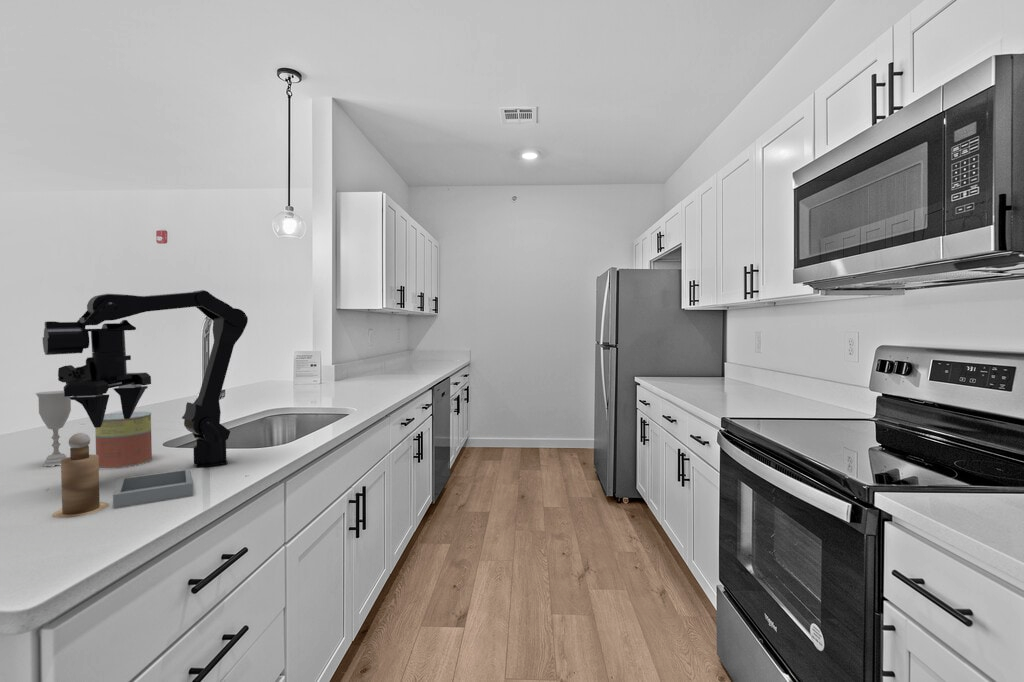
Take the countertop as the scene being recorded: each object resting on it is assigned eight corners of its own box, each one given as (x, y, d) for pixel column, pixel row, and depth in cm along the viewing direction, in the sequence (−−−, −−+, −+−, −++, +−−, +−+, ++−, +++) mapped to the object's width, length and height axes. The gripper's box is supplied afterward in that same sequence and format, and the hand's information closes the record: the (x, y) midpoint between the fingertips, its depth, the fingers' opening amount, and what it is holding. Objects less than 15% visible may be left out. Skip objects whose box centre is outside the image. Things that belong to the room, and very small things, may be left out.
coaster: (111, 502, 97) (111, 499, 97) (107, 514, 91) (106, 511, 91) (56, 510, 93) (56, 507, 93) (47, 524, 86) (47, 521, 86)
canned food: (163, 458, 131) (162, 412, 130) (121, 470, 119) (120, 420, 119) (127, 455, 133) (126, 411, 132) (83, 467, 122) (82, 418, 121)
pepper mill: (101, 502, 95) (99, 429, 95) (97, 510, 91) (95, 433, 91) (64, 508, 92) (62, 432, 92) (59, 516, 88) (57, 437, 88)
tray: (190, 482, 109) (190, 468, 109) (192, 498, 99) (192, 483, 99) (119, 493, 102) (118, 478, 102) (113, 511, 92) (112, 494, 92)
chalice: (81, 461, 127) (79, 391, 126) (49, 469, 120) (47, 394, 120) (63, 459, 129) (61, 390, 129) (30, 466, 123) (28, 393, 122)
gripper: (100, 350, 117) (104, 416, 118) (32, 356, 99) (37, 434, 99) (150, 348, 118) (154, 414, 119) (92, 354, 100) (97, 431, 100)
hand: (113, 422), depth 109 cm, fingers open, 9 cm apart
